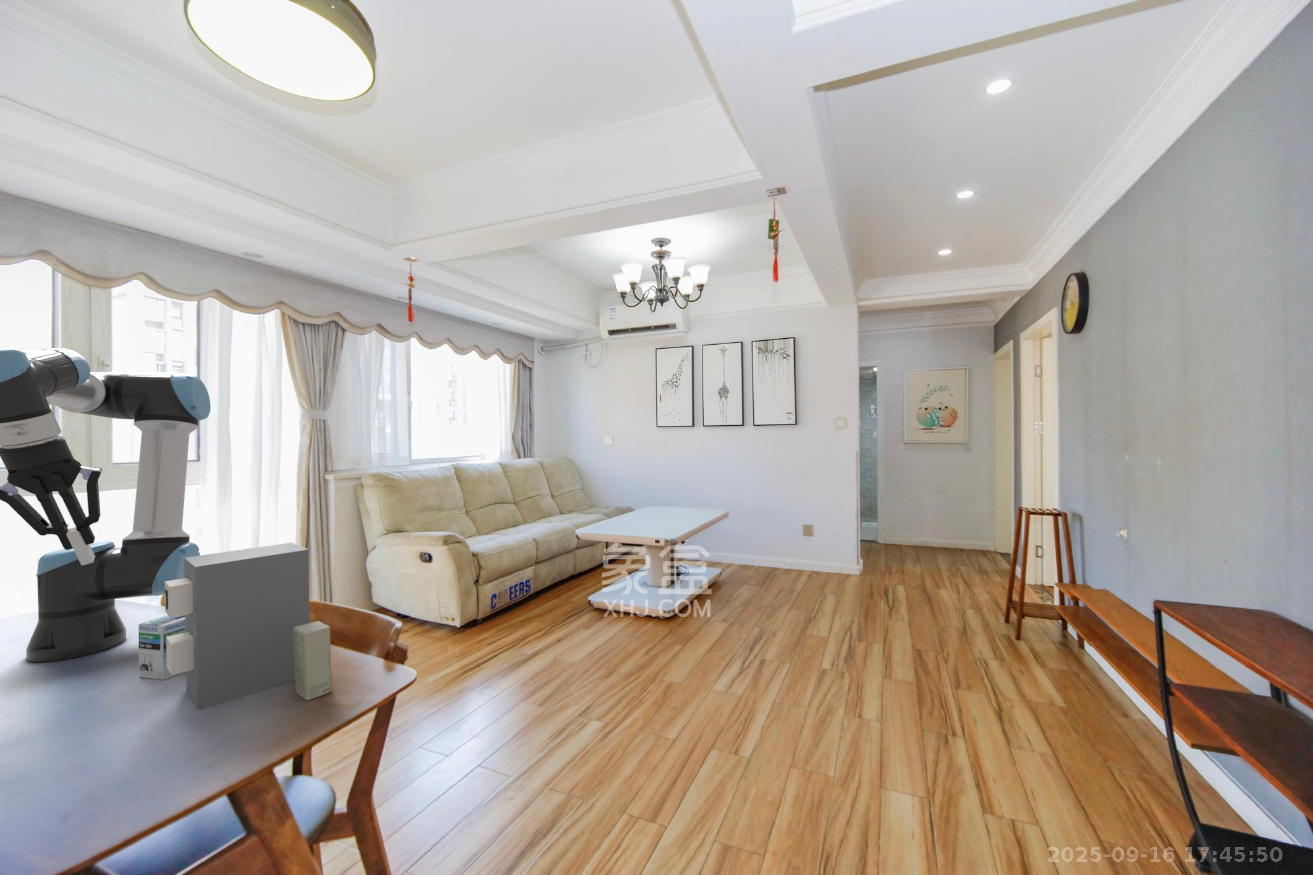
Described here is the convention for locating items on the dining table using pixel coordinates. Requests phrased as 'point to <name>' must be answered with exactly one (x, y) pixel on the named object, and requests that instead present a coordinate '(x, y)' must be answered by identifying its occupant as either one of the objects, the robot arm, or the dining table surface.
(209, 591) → the grey upright slab
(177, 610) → the white protruding block
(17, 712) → the dining table surface
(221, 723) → the dining table surface
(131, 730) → the dining table surface
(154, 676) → the light bulb box
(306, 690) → the skincare box
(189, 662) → the plain button
